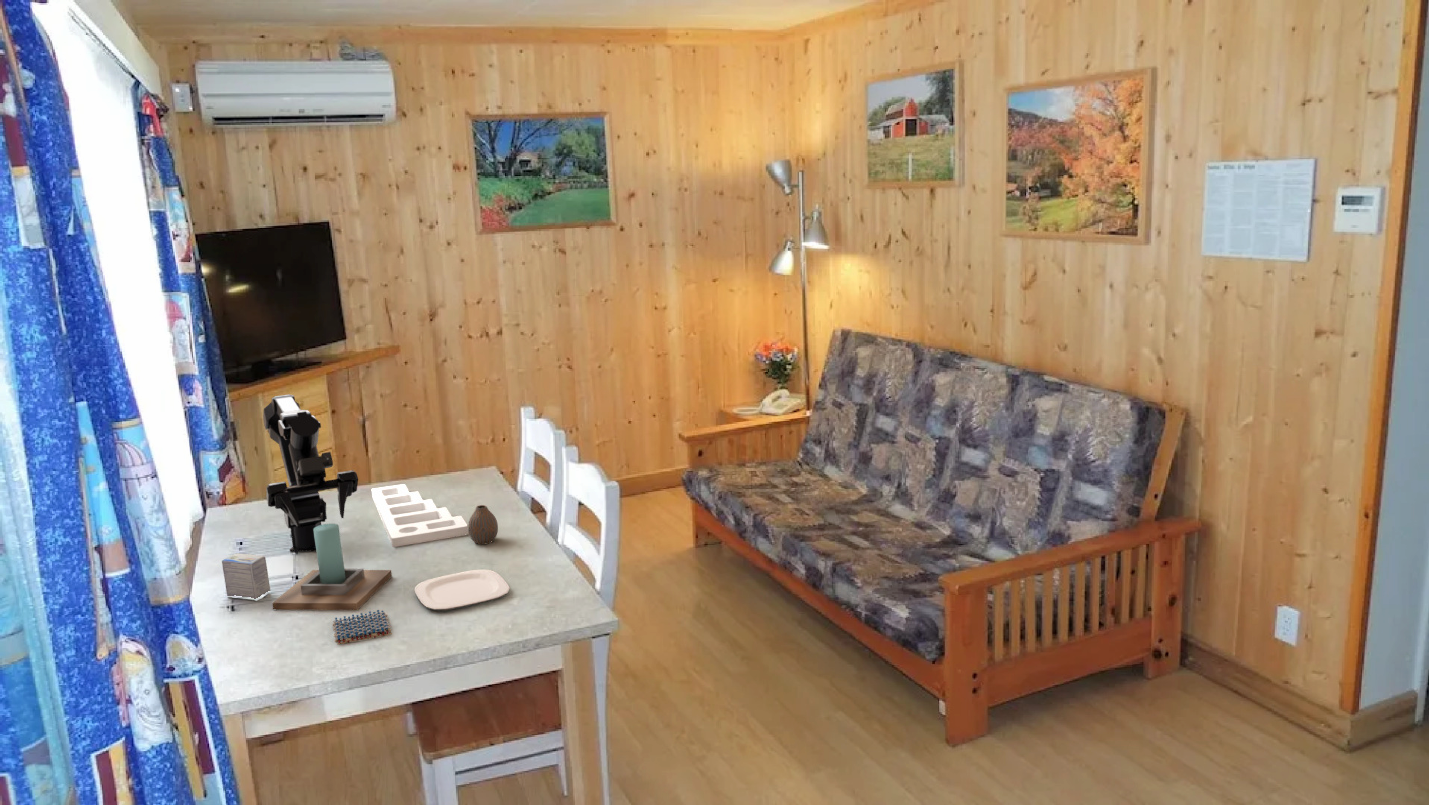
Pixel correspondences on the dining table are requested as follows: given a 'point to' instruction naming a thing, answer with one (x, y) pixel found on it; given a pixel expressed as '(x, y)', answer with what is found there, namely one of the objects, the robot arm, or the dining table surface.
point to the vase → (482, 525)
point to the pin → (329, 554)
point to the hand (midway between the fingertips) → (320, 521)
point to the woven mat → (361, 627)
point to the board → (333, 591)
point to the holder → (414, 517)
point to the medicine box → (246, 575)
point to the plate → (461, 589)
